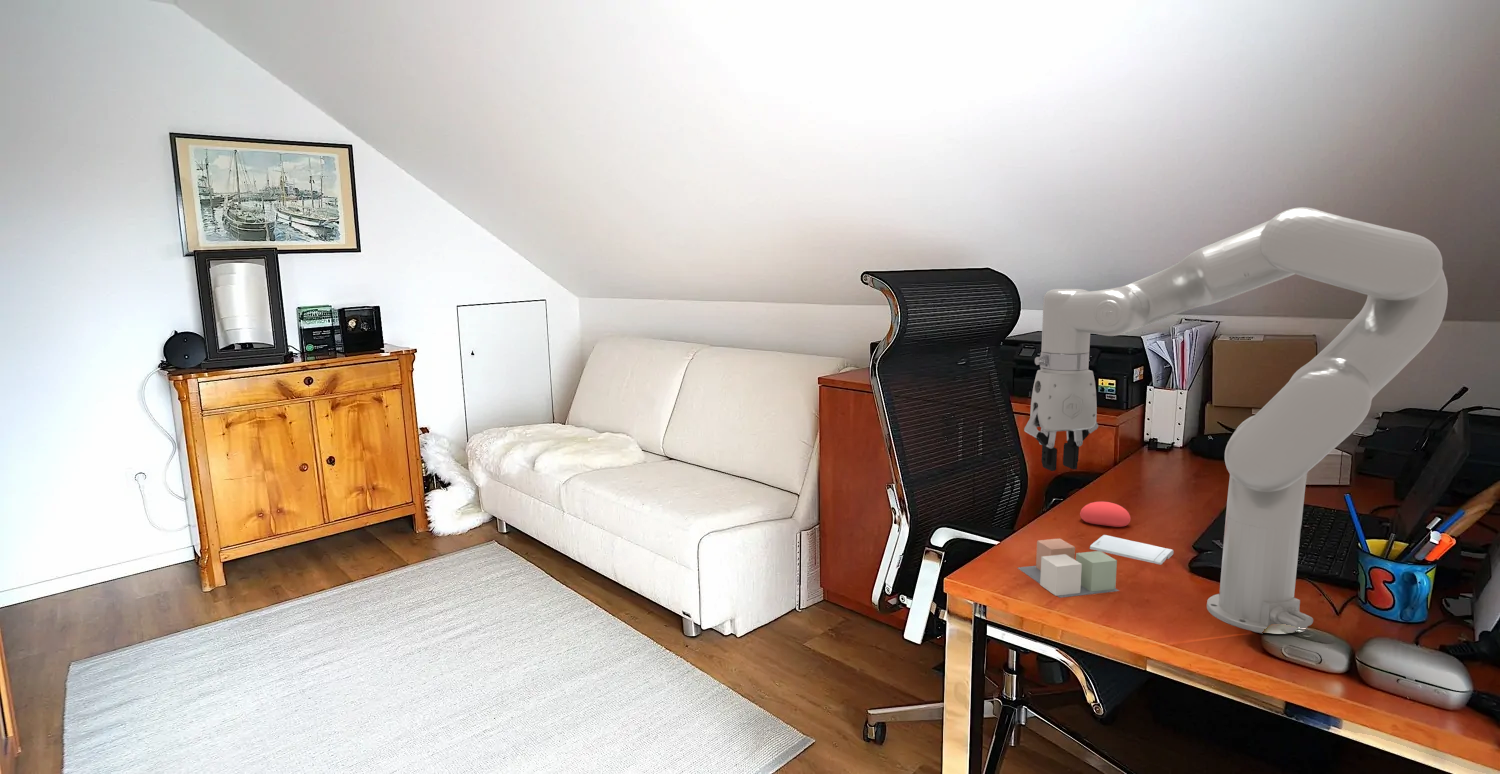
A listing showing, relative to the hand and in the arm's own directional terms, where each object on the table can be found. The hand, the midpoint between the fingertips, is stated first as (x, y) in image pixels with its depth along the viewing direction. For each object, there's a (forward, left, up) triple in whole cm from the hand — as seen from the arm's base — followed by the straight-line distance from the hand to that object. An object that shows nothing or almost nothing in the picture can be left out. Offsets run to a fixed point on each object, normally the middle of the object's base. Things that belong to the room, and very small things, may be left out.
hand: (1059, 467), depth 136 cm
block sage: (-7, -3, -19) cm, 20 cm away
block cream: (-7, +3, -19) cm, 20 cm away
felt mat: (-4, 0, -19) cm, 20 cm away
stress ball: (+21, -25, -20) cm, 37 cm away
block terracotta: (0, 0, -19) cm, 19 cm away
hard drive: (+5, -20, -20) cm, 28 cm away
